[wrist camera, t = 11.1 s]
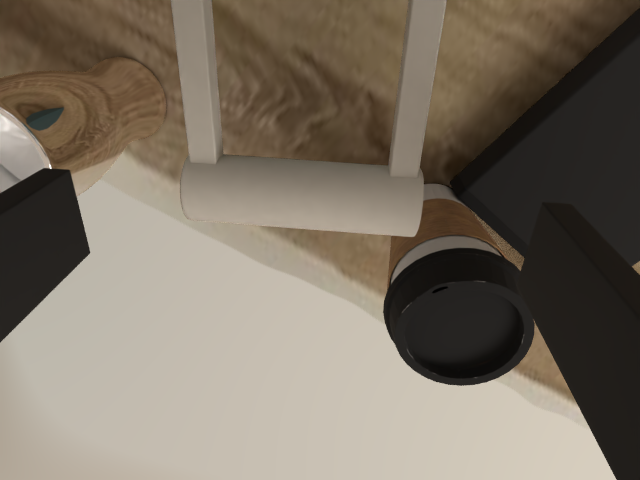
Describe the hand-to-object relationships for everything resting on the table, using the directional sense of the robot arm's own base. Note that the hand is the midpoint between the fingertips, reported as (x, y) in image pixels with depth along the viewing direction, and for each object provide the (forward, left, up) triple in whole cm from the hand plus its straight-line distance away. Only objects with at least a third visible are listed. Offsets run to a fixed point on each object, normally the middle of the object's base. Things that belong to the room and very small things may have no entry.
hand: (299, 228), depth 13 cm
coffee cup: (+10, +8, -23) cm, 26 cm away
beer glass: (+2, -16, -23) cm, 28 cm away
